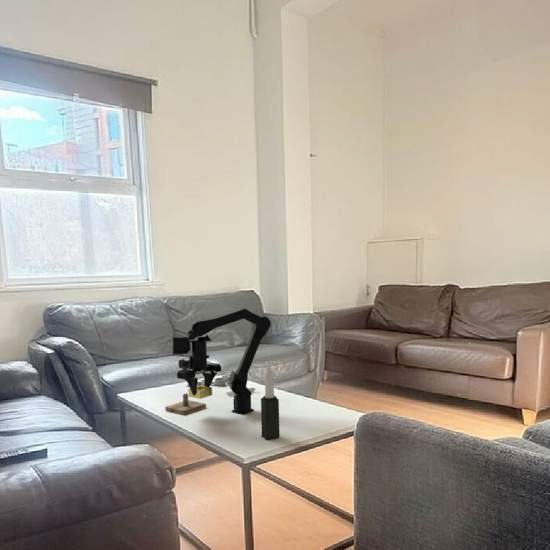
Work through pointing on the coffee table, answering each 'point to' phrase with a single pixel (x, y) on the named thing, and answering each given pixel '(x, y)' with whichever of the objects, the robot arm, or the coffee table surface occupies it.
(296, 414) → the coffee table surface
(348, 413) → the coffee table surface
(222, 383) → the pulley system
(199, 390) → the brass square frame
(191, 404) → the brown base plate
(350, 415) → the coffee table surface
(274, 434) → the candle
